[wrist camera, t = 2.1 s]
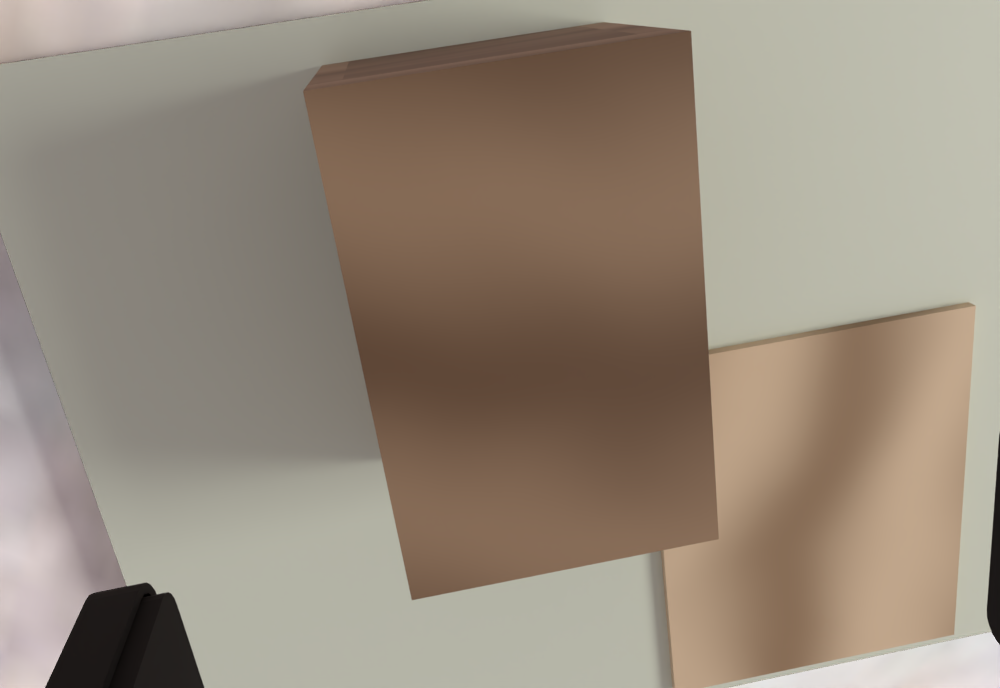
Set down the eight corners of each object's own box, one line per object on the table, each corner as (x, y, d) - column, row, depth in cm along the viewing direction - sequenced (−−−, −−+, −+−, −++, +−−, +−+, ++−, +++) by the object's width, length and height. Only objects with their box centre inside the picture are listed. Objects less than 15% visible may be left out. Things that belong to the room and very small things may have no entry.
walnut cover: (321, 65, 20) (302, 91, 14) (603, 22, 20) (690, 30, 15) (402, 458, 24) (411, 600, 18) (638, 414, 24) (718, 538, 18)
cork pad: (968, 302, 24) (975, 305, 24) (948, 628, 28) (954, 634, 28) (644, 361, 23) (648, 365, 23) (672, 686, 28) (675, 693, 27)
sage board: (1057, -95, 22) (1094, -100, 21) (997, 601, 30) (1021, 625, 29) (-34, 68, 20) (-58, 72, 19) (209, 767, 28) (202, 799, 27)
